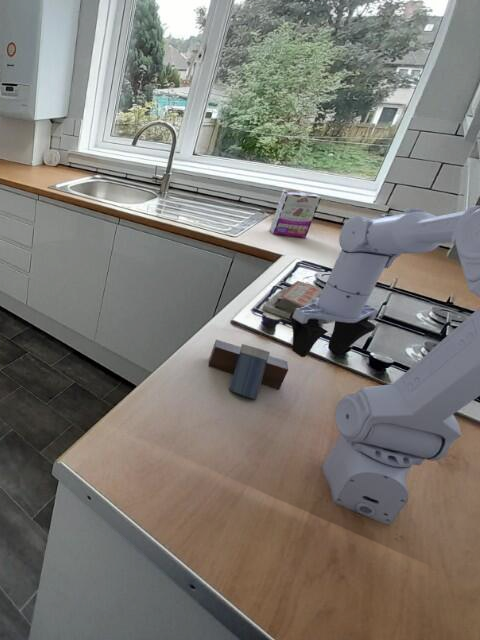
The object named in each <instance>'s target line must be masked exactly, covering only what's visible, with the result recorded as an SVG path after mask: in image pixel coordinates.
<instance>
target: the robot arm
mask: <svg viewBox="0 0 480 640" xmlns="http://www.w3.org/2000/svg"><path fill="white" fill-rule="evenodd" d="M338 241H339V242H338V243H339V246H340V249H341V250H340V252H339V254H338V256H337V259H336V261H335V263H334V265H333V268H332V269H331V271H330V274H329V276H328V277H327V280H326V283H325V285H324V287H323V289H322V290H323V291H322V293H321V295H320V298H313V299H312V302H313V303H312V304H310V305H307V306H305V307H302V308H296V310H295V312H292V313H291V315H290V317H289V318H290V319H289V321H290V323H291V328H292V347H291V348H292V349H291V350H292V352H294V353H295V354H296V355H297V356H299V357H301V358H305V357H307V355H309V353H310V352H311V350H312V348H313V347H314V345H315V344H316V343H317V341H318V340H320V338H322V337H323V336H324V335H326V334H327V333H328V332H329V331H328V330H326V329H325V328H323V327H322V326H320V324H321V323H319V322H320V321H330V322H331V321H332V322H334V325H333V331H332V333H331V335H330V338H329V341H328V347H327V349H329V350H330V351H332V352H333V353H335V354H337V355H338V356H339V355H343V354H345V352H346V351H347V350H348V349H350V347H351V346H352V345H353V344H354V343H356V342H357V341H358V340H359V339H361V338H362V337H364V336H365V335H368V334H369V333H371V332H374V331H375V330H376V325H375V324H374V323H372V322H371V321H374V320H375V319H376V317H377V315H378V313H379V309H376V308H375V307H373V306H370V305H368V304H367V303H368V300H369V299H370V297H371V294H372V292H373V291H374V288H375V286H376V285H377V283H378V281H379V279H380V278H381V275H382V273H383V271H384V270H385V269H389V267H391V266H392V265H393V263H394V261H395V260H396V258H398V257H400V256H402V255H405V254H424V253H429V252H431V251H434V250H435V249H437V248H438V247H440V246H441V245H442V244H452V245H454V246H455V247H456V251H457V255H458V258H459V262H460V265H461V268H462V272H463V276H464V279H465V283H466V286H467V290H468V291H469V292H471V293H472V294H474V295H476V296H477V297H478V298H480V205H470V206H469V208H467V209H466V210H463V211H462V210H461V211H456V212H453V213H448V214H443V215H438V216H436V215H434V214H432V213H429V212H426V211H425V210H424V209H421V208H413V207H410V208H405V209H404V210H403V213H399V214H392V213H383V214H381V215H380V217H376V218H374V217H373V218H372V217H365V216H363V215H357V214H356V215H354V216H352V217H350V218H349V219H347V220H346V221H345V223H343V225H342V228H341V230H340V232H339V239H338ZM479 397H480V307H479V308H477V309H476V310H475V311H474V312H473V313H472V314H470V315H469V316H468V317H467V318H465V320H463V321H462V322H461V323H460V324H459V325H458V326H457V327H456V328H454V329H453V330H452V331H451V332H450V333H449V334H448V335H447V336H445V337H444V338H443V339H441V341H440V342H438V343H437V344H436V345H435V346H434V347H433V348H432V349H431V350H429V352H427V353H426V354H425V355H424V356H423V357H421V359H419V360H418V361H417V362H416V363H415V364H414V365H412V366H411V367H410V368H409V369H408V370H407V371H406V372H404V373H403V374H402V375H401V376H400V377H398V378H397V379H396V380H395V381H394V382H393V383H390V384H383V385H373V386H372V385H371V386H364V387H360V388H359V389H358V390H357V391H356V392H354V393H348V394H346V395H344V396H343V397H341V399H340V400H339V401H338V402H337V404H336V406H335V409H334V421H335V427H336V428H337V430H338V432H339V433H340V435H339V436H338V438H337V440H336V442H335V443H334V445H333V447H332V449H331V450H330V452H329V454H328V455H327V457H326V459H325V461H324V462H323V464H322V466H321V472H322V476H323V477H324V478H325V480H326V482H327V483H328V486H329V488H330V489H329V490H330V493H331V498H332V502H333V503H334V504H336V505H339V506H342V508H346V509H348V510H351V511H353V512H355V513H358V514H360V515H363V516H365V517H367V518H370V519H372V520H374V521H376V522H379V523H381V524H383V525H386V526H391V524H392V523H393V522H394V520H395V519H396V517H397V516H398V515H399V514H400V512H401V511H402V509H403V508H404V507H405V505H406V504H407V503H408V501H409V498H410V496H409V490H408V486H407V476H408V472H409V470H410V469H411V468H412V466H421V465H422V464H423V463H424V461H425V460H427V461H431V462H433V461H434V462H435V461H440V460H442V459H443V458H444V457H445V456H446V455H447V454H448V452H449V451H450V449H451V447H452V444H453V443H454V441H456V440H458V439H459V438H461V437H462V433H461V428H460V424H459V423H458V421H457V418H456V416H455V415H454V414H455V413H457V412H458V411H460V410H462V409H463V408H464V407H465V406H467V405H468V404H470V403H472V402H473V401H475V400H476V399H478V398H479Z"/></svg>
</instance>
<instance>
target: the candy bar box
mask: <svg viewBox="0 0 480 640" xmlns="http://www.w3.org/2000/svg"><path fill="white" fill-rule="evenodd" d="M282 192H283V193H281V195H282V196H281V195H280V198H281V199H280V198H279V200H280V202H279V201H278V205H277V207H276V210H275V213H274V215H273V219H272V222H271V224H270V227H269V232H270V233H272V234H273V235H278V236H284V237H285V236H286V237H294V238H303V239H306V237H307V235H308V232H309V230H310V228H311V225H312V223H313V221H314V218H315V215H316V213H317V210H318V208H319V205H320V202H321V200H322V196H321V195H318V194H316V193H307V192H303V193H297V192H285V191H283V190H282Z"/></svg>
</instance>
